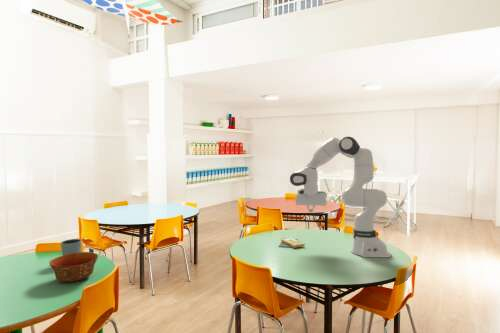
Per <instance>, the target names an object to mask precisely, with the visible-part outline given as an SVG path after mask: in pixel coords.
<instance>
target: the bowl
mask: <svg viewBox="0 0 500 333" xmlns="http://www.w3.org/2000/svg"><path fill="white" fill-rule="evenodd" d="M98 259H99V254H97V253H95V252H90V251H86V252H85V251H83V252H82V251H81V252H80V253H71V254H66V255H60V256H57V257H55V258H53V259H51V260H50V261H49V262H48V263H49V266H50V268H51V269H52V270H53V273H54V275H55V278H56V280H57V281H60V282H64V283H65V282H68V283H69V282H76V281H80V280H83V279H85V278H88V277H89V276H91V275H92V274H93V272H94V270H95V264H96V262H97V260H98Z"/></svg>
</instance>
